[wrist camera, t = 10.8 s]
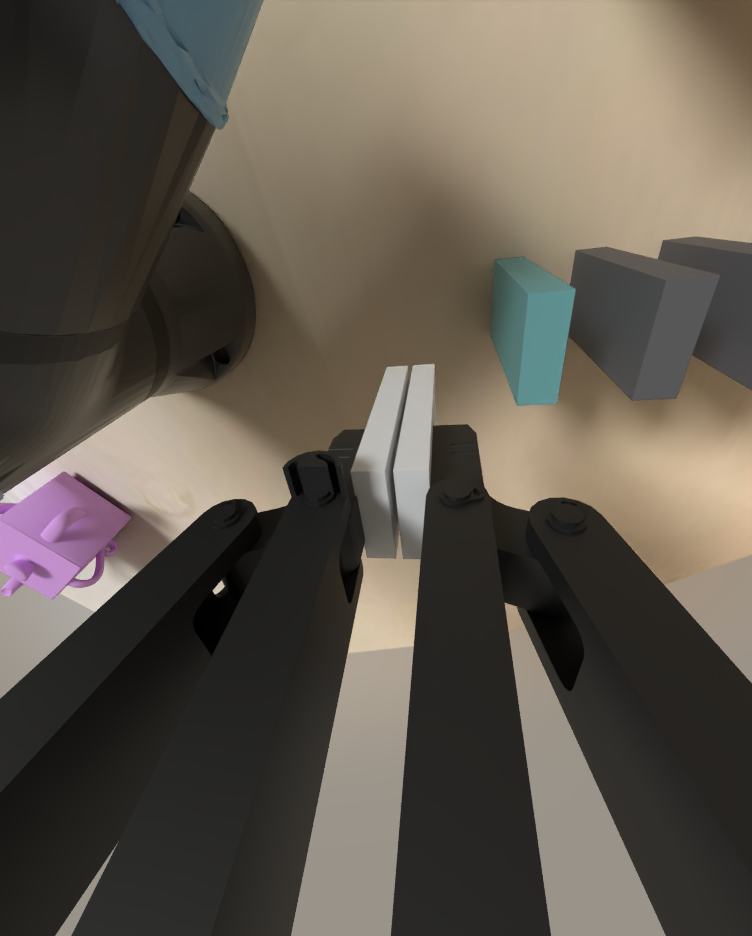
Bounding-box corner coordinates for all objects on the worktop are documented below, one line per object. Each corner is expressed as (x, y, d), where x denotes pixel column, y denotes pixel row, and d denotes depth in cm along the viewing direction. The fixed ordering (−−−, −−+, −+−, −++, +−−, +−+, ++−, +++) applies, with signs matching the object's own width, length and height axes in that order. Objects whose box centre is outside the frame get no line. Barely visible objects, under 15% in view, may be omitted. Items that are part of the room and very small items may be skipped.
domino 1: (490, 335, 28) (516, 405, 18) (494, 259, 25) (528, 293, 15) (516, 333, 27) (556, 403, 18) (523, 256, 25) (575, 289, 15)
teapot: (108, 567, 53) (47, 633, 45) (9, 507, 49) (-79, 568, 40) (164, 511, 45) (101, 580, 36) (51, 431, 40) (-51, 490, 32)
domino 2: (563, 330, 27) (631, 400, 17) (575, 250, 24) (666, 280, 14) (590, 327, 26) (676, 398, 17) (606, 246, 24) (720, 274, 14)
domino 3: (640, 324, 26) (759, 394, 16) (663, 240, 23) (822, 265, 13) (669, 321, 26) (808, 392, 16) (696, 236, 23) (884, 259, 13)
